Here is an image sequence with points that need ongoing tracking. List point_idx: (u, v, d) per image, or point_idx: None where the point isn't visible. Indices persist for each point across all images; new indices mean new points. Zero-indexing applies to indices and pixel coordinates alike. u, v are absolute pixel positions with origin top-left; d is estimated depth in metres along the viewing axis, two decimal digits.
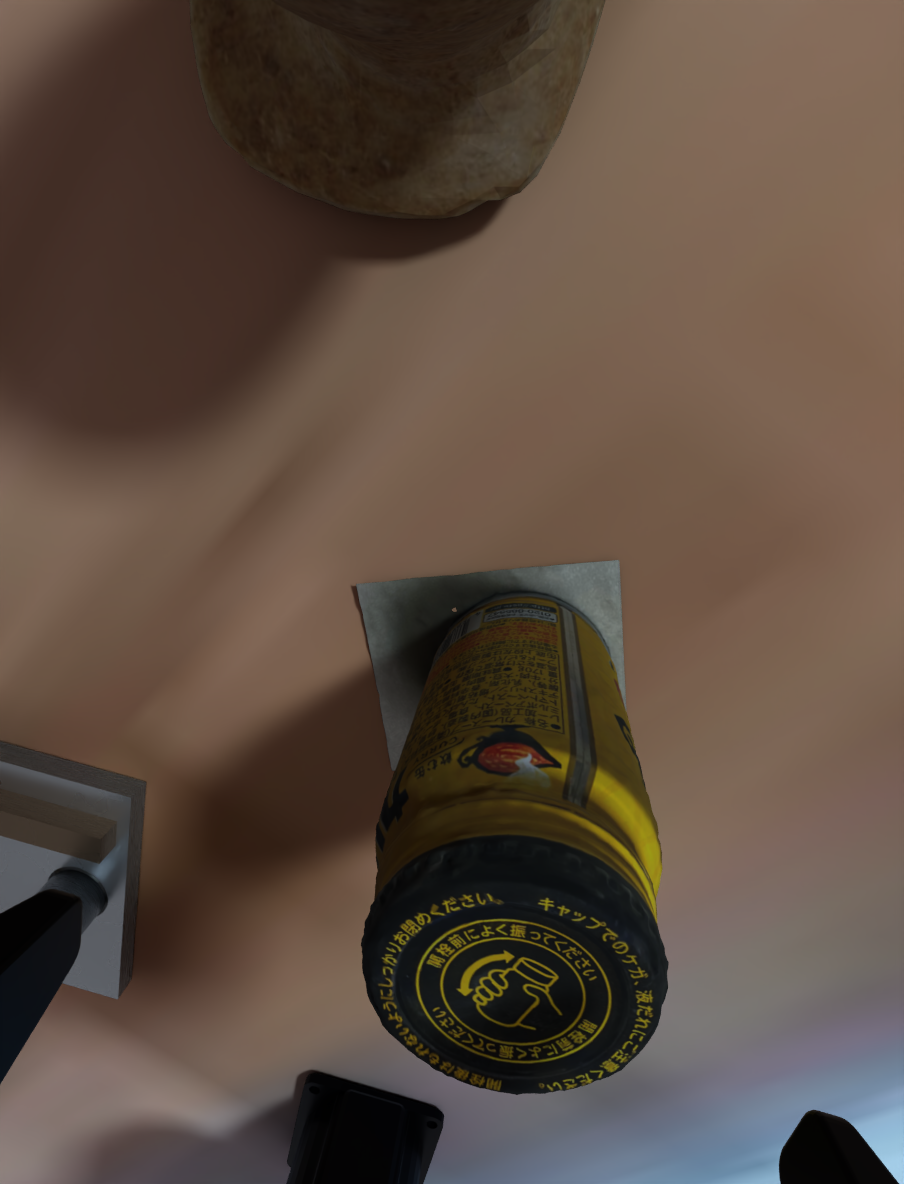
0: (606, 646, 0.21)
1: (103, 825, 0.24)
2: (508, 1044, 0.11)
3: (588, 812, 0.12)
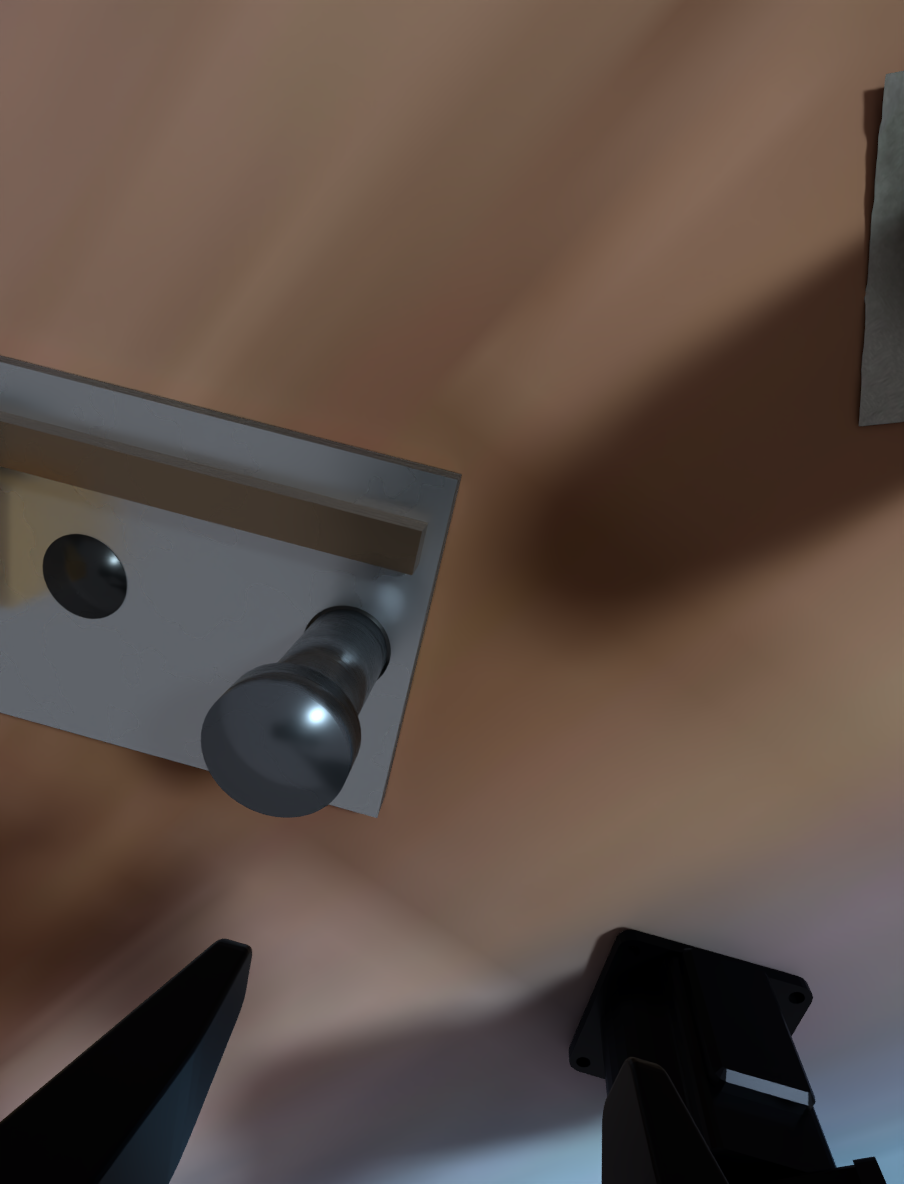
0: None
1: (414, 522, 0.17)
2: None
3: None
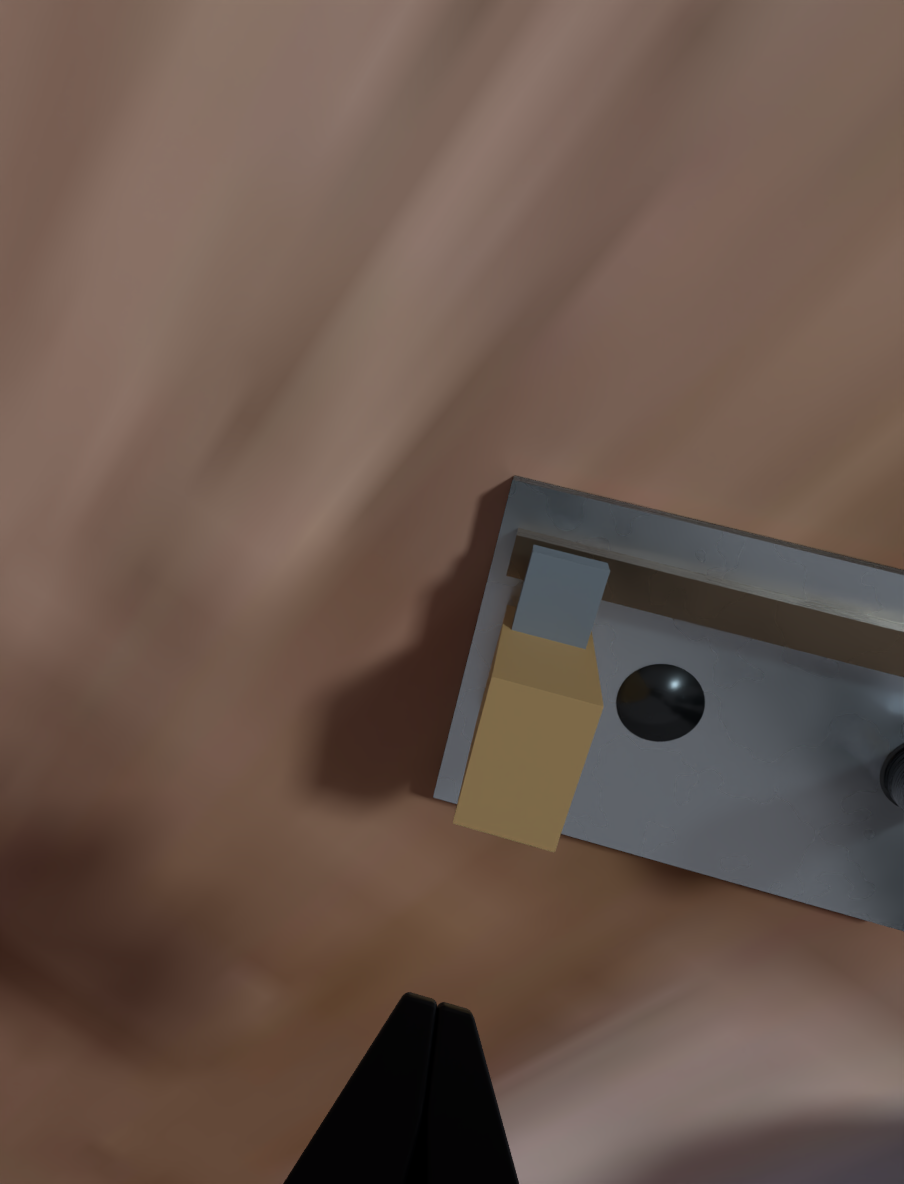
0: None
1: None
2: None
3: None
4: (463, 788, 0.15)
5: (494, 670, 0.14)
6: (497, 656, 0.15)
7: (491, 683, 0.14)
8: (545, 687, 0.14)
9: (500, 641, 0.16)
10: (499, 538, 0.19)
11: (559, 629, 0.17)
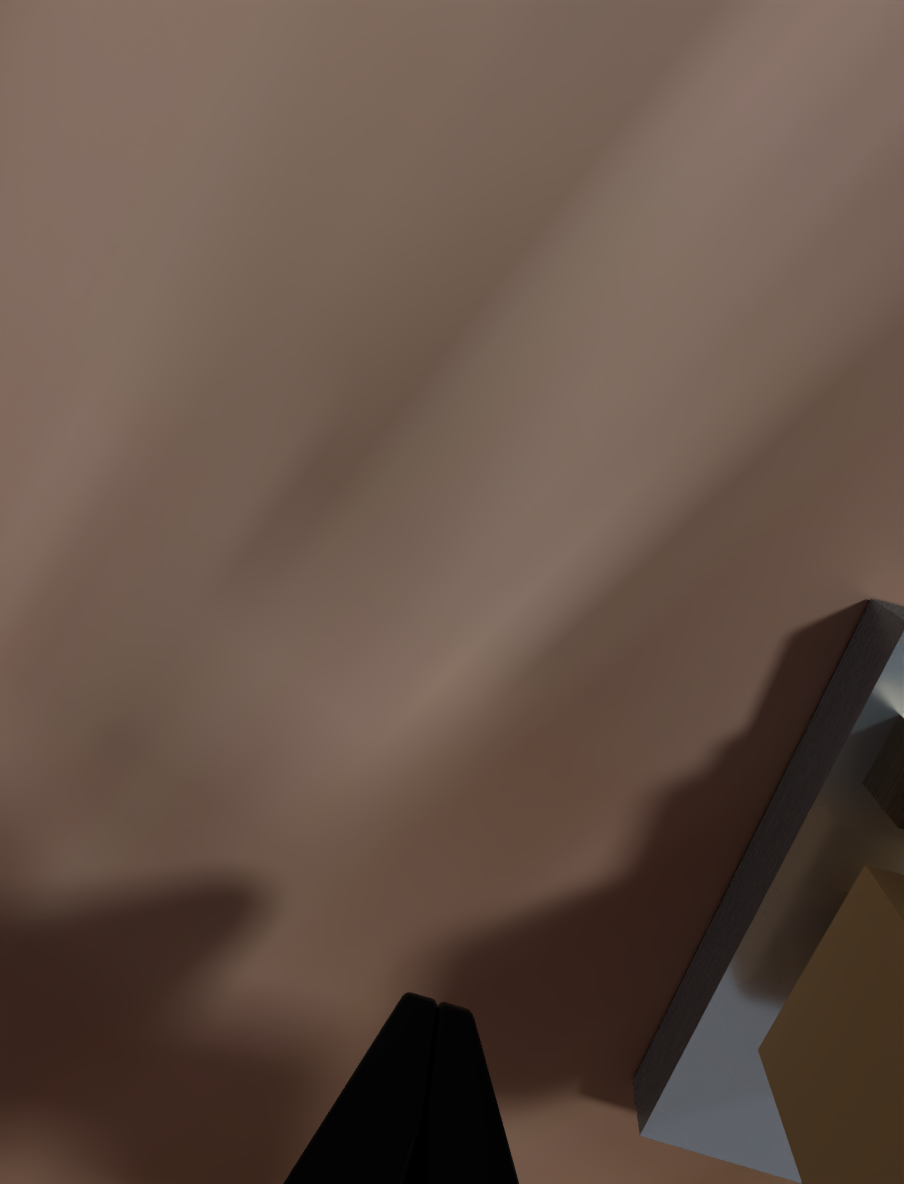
0: None
1: None
2: None
3: None
4: None
5: None
6: None
7: None
8: None
9: None
10: (854, 732, 0.09)
11: None
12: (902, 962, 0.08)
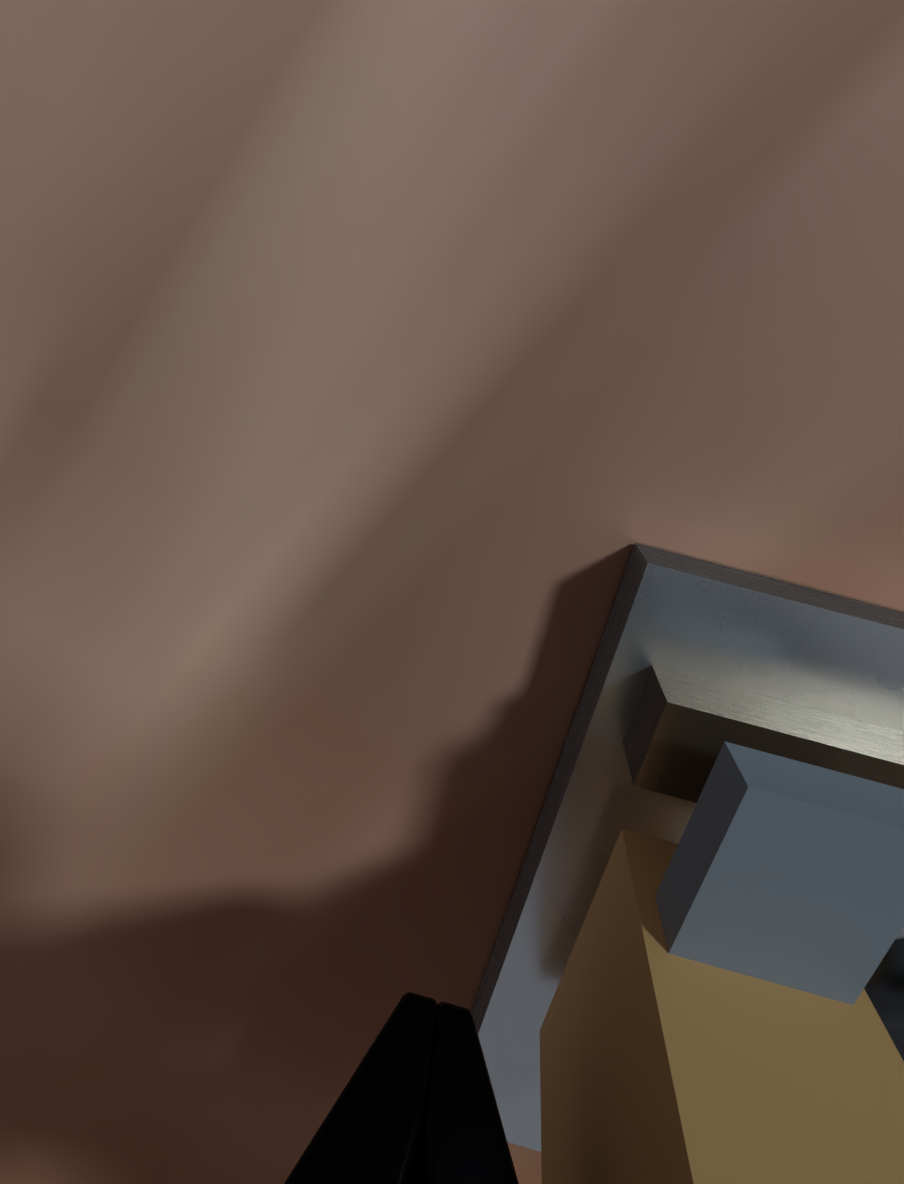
0: None
1: None
2: None
3: None
4: None
5: None
6: (691, 1157, 0.05)
7: None
8: None
9: (666, 1037, 0.06)
10: (607, 685, 0.09)
11: (792, 960, 0.07)
12: (625, 930, 0.07)
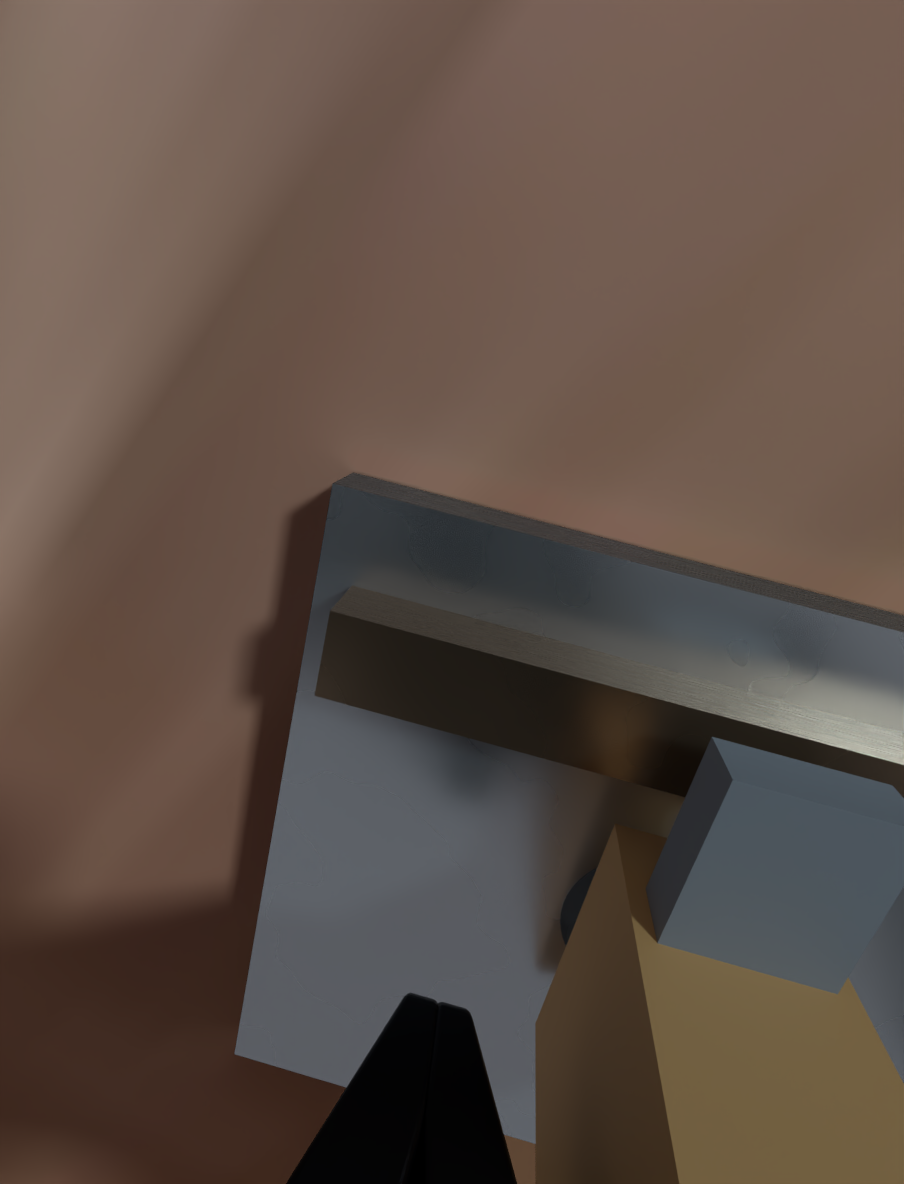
0: None
1: None
2: None
3: None
4: None
5: None
6: (673, 1134, 0.05)
7: None
8: None
9: (652, 1022, 0.06)
10: (314, 606, 0.09)
11: (778, 950, 0.07)
12: (616, 921, 0.08)
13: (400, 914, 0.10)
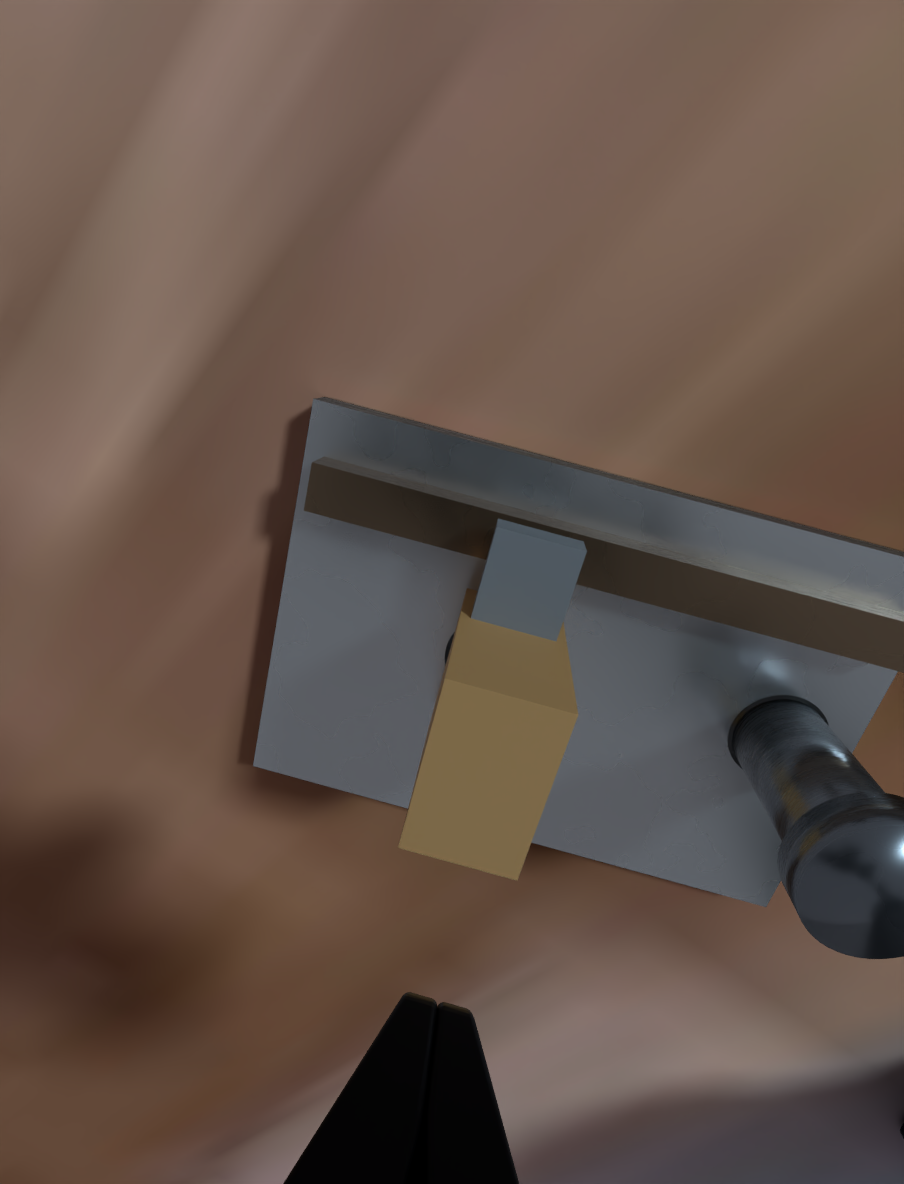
0: None
1: (903, 615, 0.16)
2: None
3: None
4: (410, 808, 0.13)
5: (448, 670, 0.12)
6: (452, 652, 0.13)
7: (444, 686, 0.12)
8: (509, 691, 0.12)
9: (457, 632, 0.14)
10: (303, 469, 0.16)
11: (526, 618, 0.14)
12: None
13: (353, 660, 0.18)
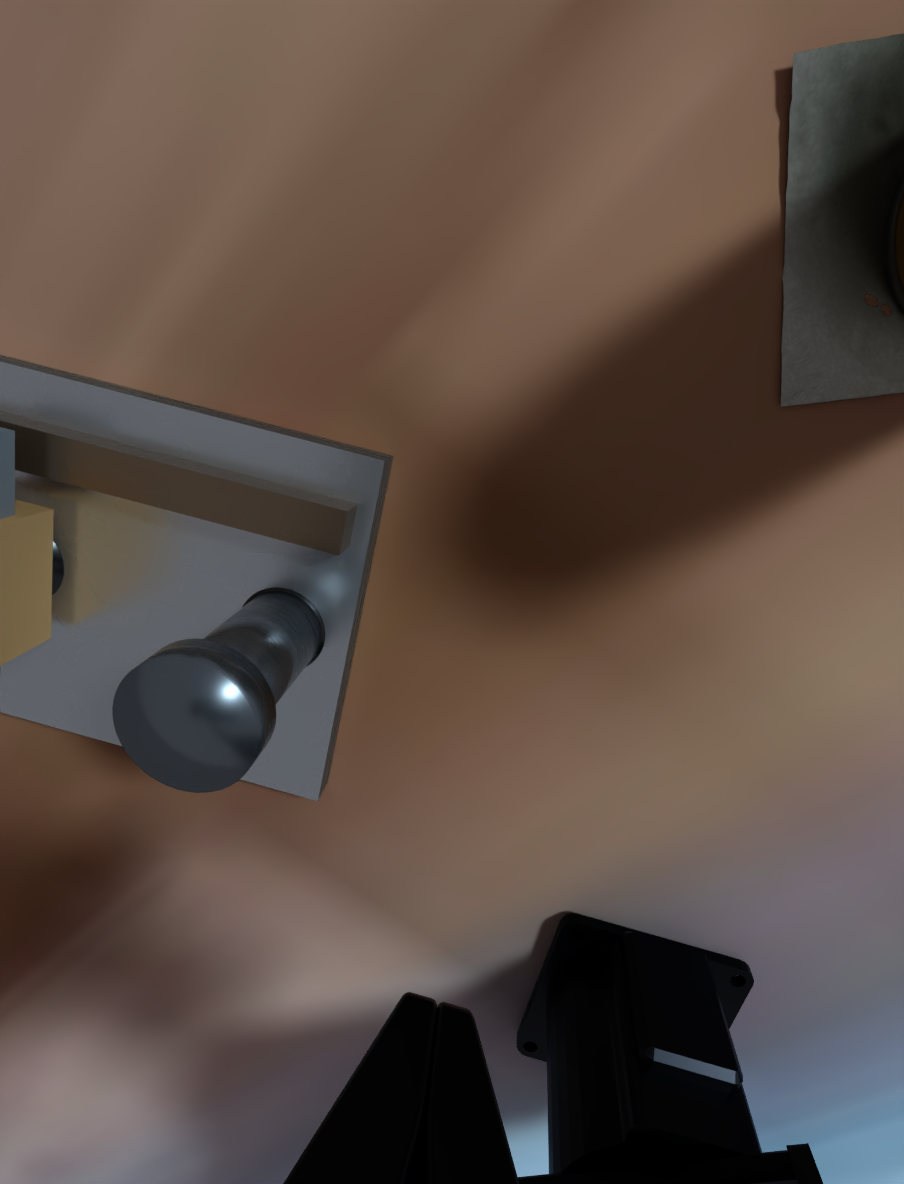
0: None
1: (342, 503, 0.17)
2: None
3: None
4: None
5: None
6: None
7: None
8: None
9: None
10: None
11: None
12: None
13: None
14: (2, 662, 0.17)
